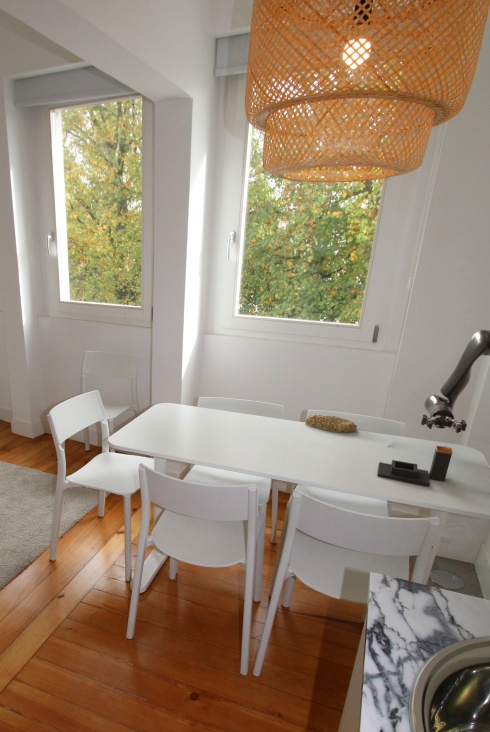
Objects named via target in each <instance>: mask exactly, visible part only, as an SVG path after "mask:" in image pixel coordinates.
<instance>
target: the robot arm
mask: <svg viewBox="0 0 490 732" xmlns="http://www.w3.org/2000/svg"><path fill="white" fill-rule="evenodd" d="M481 356H487V357H488V356H490V329H480V330H477V331H476V332H474V334H473V335H472V336H471V338H469V341H468V343H467V345H466V346H465V348H464V349H463V352H462V354H461V356H460V358H459V361H458V362H457V364H456V366H455V368H453V369H454V370H453V371H452V372H451V374H450V375H449V376H448V378H447V379H446V381H445V382H444V383H443V385H442V386H441V388H440V390H439V391H440V394H441V395H442V396H443V397H442V396H441V395H438V394H430V395H429V396H427V398H426V399H425V401H424V409H425V411H426V412H428V413H429V416H428V415H426V414H422V417H421V422H420V425H422V426H425V425H426V427H427V428H428V429H429V430H432V428H434V427H435V428H437V429H442V430H443V429H446V428H447V429H449V430H455V433H456V434H459V433H461V432H465V431H466V429H467V426H468V424H467V422H466V420H465V419H461V420H459V421H458V420H456V419H455V415H454V413H453V410H454V408H455V404H456V402H457V400H458V398H459V397H460V395H461V394H462V393H463V391H464V390H465V389H466V388H467V386H468V385H469V383H470V381H471V377H472V369H473V365H474V364H475V362H476V361H477V360H478V359H479V358H480V357H481Z"/></svg>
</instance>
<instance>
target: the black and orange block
mask: <svg viewBox="0 0 490 732" xmlns="http://www.w3.org/2000/svg"><path fill="white" fill-rule="evenodd" d="M434 449H435V450H434V453H433V457H432V461H431V464H430V469H429V471H428V474H429V480H434V481H440V482H445V481H446V477H447V474H448V470H449V467H450V464H451V459H452V455H453V448H452V447H449V446H443V445H435V448H434Z"/></svg>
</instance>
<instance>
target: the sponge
mask: <svg viewBox="0 0 490 732" xmlns="http://www.w3.org/2000/svg"><path fill="white" fill-rule="evenodd" d="M305 425H306V426H309V427H311V428H316V429H320V430H323V431H326V432H332V433H354V432H357V428H358V425H357V424H355V422H354V421H352V420H349V419H346V418H342V417H339V416H333V415H322V414H310V415H309V416H308V417H307V418H305Z"/></svg>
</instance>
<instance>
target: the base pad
mask: <svg viewBox="0 0 490 732" xmlns="http://www.w3.org/2000/svg"><path fill="white" fill-rule="evenodd" d="M377 468H378V469H377V477H379V478H383V479H389V480H395V481H400V482H403V483H404V482H405V483H410V484H414V485H420V486H426V487H429V486H430V477H429V470H426V469H420V468H418V463H413V462H408V461H402V460H401V461H400V460H396V459H392V460H391V463H386V462H381V461H380V462H378V467H377Z"/></svg>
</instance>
